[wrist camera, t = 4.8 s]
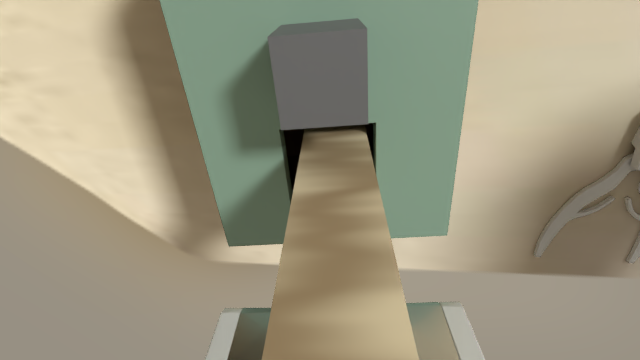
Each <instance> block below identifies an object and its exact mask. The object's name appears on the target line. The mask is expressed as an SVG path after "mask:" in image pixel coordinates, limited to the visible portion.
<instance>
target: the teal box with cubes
mask: <svg viewBox="0 0 640 360" xmlns="http://www.w3.org/2000/svg"><path fill="white" fill-rule="evenodd" d="M160 4H161V7H162V11H163V14H164V18H165V21H166V25H167V29H168V32H169V36H170V39H171V43H172V46H173V50H174V53H175V57H176V61H177V64H178V68H179V71H180V75H181V78H182V82H183V85H184V89H185V93H186V96H187V100H188V103H189V107H190V110H191V114H192V117H193V121H194V125H195V128H196V132H197V135H198V139H199V142H200V146H201V149H202V153H203V157H204V160H205V164H206V167H207V171H208V174H209V178H210V181H211V185H212V189H213V192H214V196H215V199H216V203H217V206H218V210H219V213H220V217H221V221H222V224H223V228H224V231H225V235H226V238H227V242H228V245H229V246H249V245H269V244H283V243H284V237H285V232H286V227H287V221H288V216H289V211H290V205H291V200H292V194H293V190H292V186H291V179H290V172H289V165H288V158H287V151H286V144H285V137H284V130H292V129H306V128H320V127H334V126H348V125H362V124H368V123H373V164H374V168H375V172H376V177H377V181H378V185H379V189H380V194H381V198H382V202H383V207H384V211H385V215H386V220H387V224H388V228H389V233H390V237H391V238H406V237H426V236H445V235H447V232H448V225H449V217H450V210H451V202H452V195H453V187H454V180H455V172H456V165H457V157H458V150H459V142H460V135H461V127H462V120H463V112H464V105H465V97H466V90H467V82H468V75H469V67H470V60H471V52H472V45H473V37H474V30H475V22H476V15H477V7H478V0H160Z"/></svg>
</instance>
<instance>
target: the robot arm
mask: <svg viewBox="0 0 640 360" xmlns="http://www.w3.org/2000/svg"><path fill="white" fill-rule="evenodd" d="M406 306H407V310H408V314H409V319H410V323H411V327H412V331H413V336H414V340H415V344H416V349H417V353H418V357H419V360H485V359H484V356H483V354H482V351H481V349H480V346H479V344H478V341H477V339H476V337H475V334H474V332H473V329H472V327H471V325H470V322H469V320H468V317H467V315H466V312H465V310H464V307H463V305H461V303H460V302H439V303H438V302H428V303H406ZM270 313H271V308H225V309H224V310H223V311H222V313H221V314H220V317H219V320H218V323H217V326H216V329H215V332H214V335H213V337H212V340H211V343H210V346H209V349H208V352H207V355H206V358H205V360H262V356H263V350H264V345H265V339H266V334H267V329H268V323H269V318H270Z"/></svg>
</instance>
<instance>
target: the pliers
mask: <svg viewBox="0 0 640 360" xmlns="http://www.w3.org/2000/svg"><path fill="white" fill-rule="evenodd" d="M631 143H632V144H633V146H634V147H635V150H634V153H632V154H630V155H628V156H626V157H624V158H623V159H622V160H621V161H620V162H619V163H618V165H617V166H616V167H615V168H614V169H613V170H611V171H610V172H609V173H607V174H606V175H605V176H603V177H602V178H601V179H599V180H597V181H595V182H594V183H592V184H590V185H588V186H586V187H585V188H583V189H582V190H580V191H579V192H578V193H577V194H575V195H574V196H573V197H572V198H570V199H569V200H568V201H567V202H566V203H565V204H564V205H563V206H562V207H561V208H560V209H559V210H558V211H557V212H556V214H555V215H554V216H553V217H552V218H551V220H550V221H549V222H548V224H547V225H546V227H545V228H544V230H543V232H542V233H541V235H540V237H539V239H538V242H537V245H536V248H535V251H534V256H535V257H541V255H542V254H543V252H544V251H545V249H546V248H547V247H548V245H549V244H550V242H551V241H552V240H553V238H554V237H555V236H556V234H557V233H558V232H559V231H560V230H561V229H562V228H563V226H564V225H565V224H566V223H567V222H568V221H570V220H572V219H574V218H578V217H582V216H586V215H589V214H591V213H594V212H596V211H598V210H600V209H602V208H603V207H605V206H607V205H608V204H609V203H611V202H612V201H614V200H615V198H614V197H612V196H609V197H608V198H606V199H605V200H604V201H602V202H600V203H599V204H597V205H595V206H593V207H591V208H588V209H585V210H581V209H582V208H583V207H585V206H586V205H588V204H589V203H591V202H593V201H594V200H596V199H598V198H599V197H601V196H603V195H605V194H606V193H608V192H610V191H612V190H613V189H615V188H616V187H617V185H618V184H619V183H620V182H621V181H622V180H623V179H624V178H625V177H626V176H627V175H628V173H629V172H630V171H635V170H639V171H640V126H639V128H638V130H637V132H636V134H635V136H634V138H633V140H632V142H631ZM638 191H639V194H640V183H639V186H638ZM625 205H626V208H627V211H628V212H629V213H630V214H631V215H632V216H633V217H634V218H635V219H637V220H639V221H640V214H637V213H636V212H635V211H634V209H633V207H632V201H631V198H629V197H625ZM639 257H640V232H639V235H638V237H637V240H636V242H635V244H634V246H633V248H632V250H631V252H630V254H629V255H628V257H627V259H626V261H627V262H628V263H634V262H635V261H636V260H637V259H638V258H639Z"/></svg>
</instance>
